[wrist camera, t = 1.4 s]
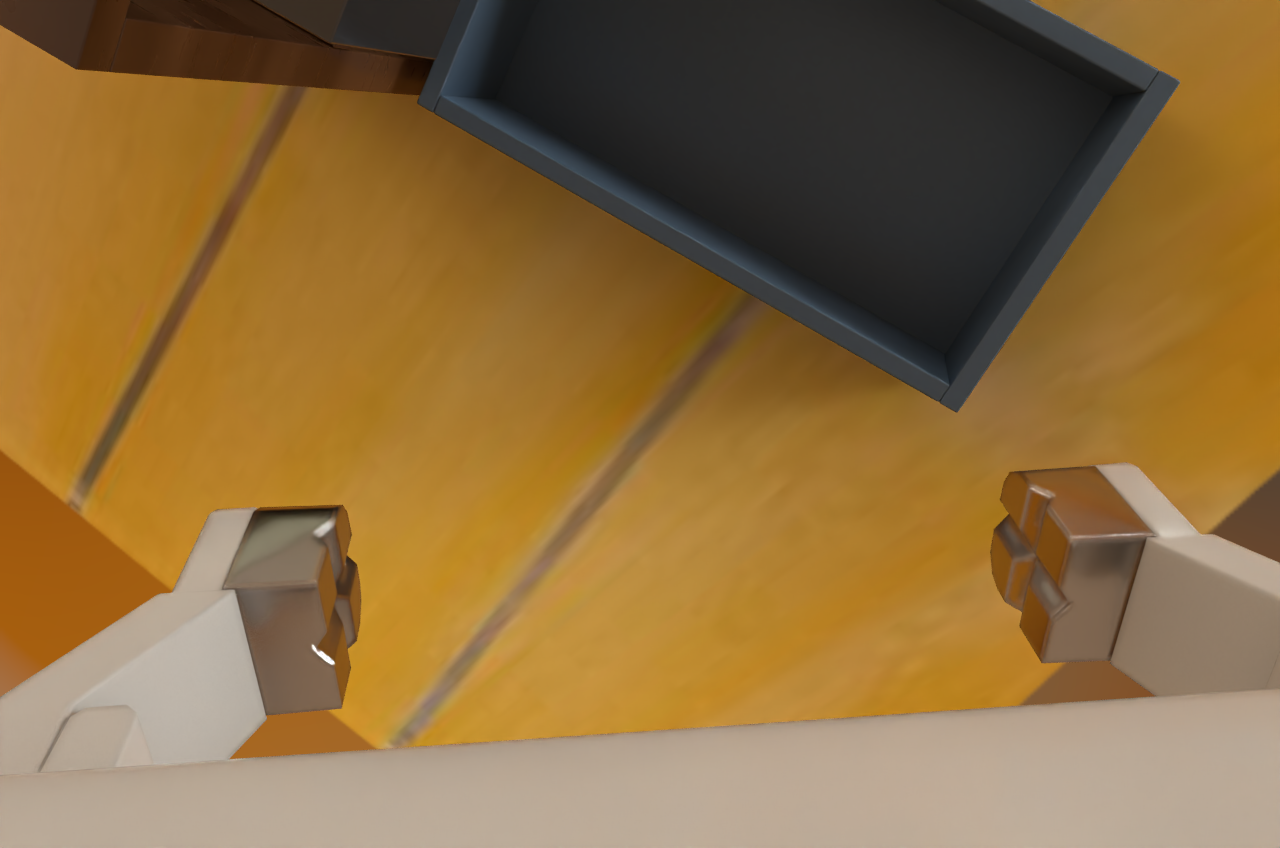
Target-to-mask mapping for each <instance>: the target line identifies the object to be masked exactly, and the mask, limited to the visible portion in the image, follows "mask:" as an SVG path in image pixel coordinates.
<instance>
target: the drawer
mask: <svg viewBox="0 0 1280 848" xmlns="http://www.w3.org/2000/svg"><path fill="white" fill-rule="evenodd" d="M255 1H256V2H258V3H260V4H262V5H263V6H265V7H267V8H268V9H270V10H272V11H274V12H275V13H277V14H279V15H281V16H282V17H284V18H286V19H288V20H289V21H291V22H293V23H295V24H296V25H298V26H300V27H302V28H303V29H305V30H307V31H309V32H310V33H312V34H314V35H316V36H317V37H319V38H321V39H323V40H324V41H326V42H328V43H331V44H338V45H344V46H351V47H357V48H364V49H370V50H377V51H383V52H390V53H396V54H403V55H409V56H416V57H422V58H429V59H436V58H437V56H438V54H439V51H440V49H441V46H442V44H443V41H444V39H445V37H446V34H447V32H448V29H449V27H450V24H451V22H452V20H453V17H454V15H455V12H456V10H457V7H458V5H459V2H460V0H255Z"/></svg>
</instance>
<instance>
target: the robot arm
mask: <svg viewBox="0 0 1280 848" xmlns="http://www.w3.org/2000/svg"><path fill="white" fill-rule="evenodd" d="M1000 501H1001V502H1002V504H1003V505H1004V507H1005V509H1006V510H1007V512H1008V513H1009V514H1008V515H1007V516H1006V517H1005V518H1004V519H1003V521H1002V522H1001V523H1000V524H999V525H998V526H997V527H996V528H995V529H994V532H993V538H992V544H991V550H990V554H991V566H992V574H993V577H994V580H995V583H996V586H997V589H998V591H999V592H1000V594H1001V596H1002V598H1003V599H1004V601H1005V602H1006V603H1008V604H1009V605H1011V606H1013V607H1014V608H1016V609H1018V610H1020V611H1021V612H1022V616H1021V620H1020V625H1019V626H1020V628H1021V630H1022V631H1023V633H1024V635H1025V636H1026V638H1027V640H1028V641H1029V643H1030V645H1031V646H1032V648H1033V649H1034V651H1035V653H1036V654H1037V656H1038V658H1039V659H1040V661H1041V663H1058V662H1083V661H1109V660H1110V661H1111V662H1110V664H1111V665H1113V666H1114V667H1116V668H1117V669H1118V670H1120V671H1121V672H1123V673H1124V674H1125V675H1127V676H1128V677H1130V678H1131V679H1132V680H1134V681H1135V682H1137V683H1138V684H1140V685H1141V686H1142V687H1144V688H1145V689H1147V690H1148V691H1149V692H1151V693H1152V694H1153V695H1155V696H1156V697H1142V698H1128V699H1112V700H1098V701H1083V702H1068V703H1054V704H1039V705H1024V706H1009V707H994V708H980V709H965V710H950V711H936V712H921V713H906V714H892V715H877V716H862V717H848V718H833V719H818V720H803V721H788V722H774V723H759V724H744V725H729V726H715V727H700V728H685V729H670V730H656V731H641V732H626V733H611V734H597V735H582V736H567V737H552V738H538V739H523V740H508V741H493V742H478V743H464V744H449V745H434V746H419V747H405V748H390V749H375V750H361V751H346V752H331V753H316V754H301V755H287V756H272V757H257V758H242V759H229V758H230V757H231V756H232V755H233V754H234V753H235V752H236V751H237V750H238V749H239V748H240V747H241V746H242V745H243V744H244V743H245V742H246V741H247V739H248V738H249V737H250V736H251V735H252V734H253V733H254V732H255V731H256V730H257V729H258V728H259V727H260V726H261V725H262V724H263V723H264V722H265V721H266V719H267V718H266V715H276V714H286V713H297V712H309V711H320V710H331V709H341V708H342V705H343V701H344V696H345V692H346V687H347V683H348V678H349V674H350V670H351V665H350V660H349V654H348V648H349V647H350V646H352V645H353V644H354V643H355V642H356V641H357V637H358V632H359V627H360V615H361V590H360V579H359V573H358V567H357V564H356V563H355V562H354V561H353V560H352V559H350V558H349V557H348V556H347V552H348V548H349V544H350V540H351V536H352V533H351V528H350V523H349V518H348V513H347V511H346V509H345V508H344V506H343V505H319V506H287V507H260V508H255V507H251V508H234V509H217V510H215V511H213V512H211V513H210V514H209V515H208V517H207V519H206V521H205V523H204V526H203V528H202V530H201V532H200V534H199V536H198V538H197V540H196V542H195V545H194V547H193V549H192V551H191V553H190V555H189V557H188V559H187V561H186V563H185V566H184V568H183V570H182V572H181V574H180V576H179V578H178V580H177V582H176V585H175V587H174V589H173V591H172V593H162V594H158V595H156V596H155V597H153V598H152V599H150V600H148V601H147V602H146V603H144V604H142V605H141V606H139V607H138V608H136V609H135V610H133V611H132V612H130V613H129V614H127V615H125V616H124V617H123V618H121V619H119V620H118V621H117V622H115V623H113V624H112V625H110V626H109V627H107V628H106V629H104V630H103V631H101V632H100V633H98V634H96V635H95V636H93V637H92V638H91V639H89V640H87V641H86V642H84V643H83V644H81V645H79V646H78V647H77V648H75V649H73V650H72V651H71V652H69V653H67V654H66V655H64V656H63V657H61V658H59V659H58V660H56V661H55V662H53V663H52V664H50V665H49V666H47V667H46V668H44V669H43V670H41V671H40V672H38V673H36V674H35V675H33V676H32V677H30V678H29V679H27V680H26V681H24V682H23V683H21V684H20V685H18V686H17V687H15V688H14V689H12V690H11V691H9V692H7V693H6V694H4V695H3V696H1V697H0V848H1280V563H1278V562H1276V561H1274V560H1271V559H1269V558H1267V557H1264V556H1262V555H1260V554H1257V553H1255V552H1253V551H1250V550H1248V549H1246V548H1243V547H1241V546H1239V545H1237V544H1234V543H1232V542H1230V541H1228V540H1225V539H1223V538H1220V537H1218V536H1216V535H1214V534H1207V535H1201V534H1200V533H1199V532H1198V531H1197V530H1196V529H1195V528H1194V527H1193V526H1192V525H1191V524H1190V523H1189V522H1188V520H1187V519H1186V518H1185V517H1184V516H1183V515H1182V514H1181V513H1180V512H1179V511H1178V510H1177V509H1176V508H1175V507H1174V505H1173V504H1172V503H1171V502H1170V501H1169V500H1168V499H1167V498H1166V497H1165V496H1164V495H1163V494H1162V493H1161V492H1160V491H1159V489H1158V488H1157V487H1156V486H1155V485H1154V484H1153V483H1152V482H1151V481H1150V480H1149V479H1148V478H1147V477H1146V476H1145V474H1144V473H1143V472H1142V471H1141V470H1140V469H1139V468H1138V467H1137V466H1135V465H1132V464H1130V463H1127V462H1125V463H1113V464H1102V465H1090V466H1085V467H1071V468H1057V469H1043V470H1028V471H1014V472H1009V474H1008V476H1007V478H1006V479H1005V481H1004V483H1003V488H1002V493H1001V497H1000Z"/></svg>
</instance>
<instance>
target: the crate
mask: <svg viewBox="0 0 1280 848" xmlns="http://www.w3.org/2000/svg"><path fill="white" fill-rule="evenodd" d="M1179 84H1180V81H1179V80H1178V79H1176V78H1174V77H1172V76H1170V75H1168V74H1166V73H1164V72H1163V71H1159V70H1158V69H1157V68H1155V67H1153V66H1151V65H1149V64H1147V63H1145V62H1144V61H1142V60H1140V59H1138V58H1136V57H1134V56H1132V55H1131V54H1129V53H1127V52H1125V51H1123V50H1121V49H1119V48H1117V47H1116V46H1114V45H1112V44H1110V43H1108V42H1106V41H1104V40H1102V39H1101V38H1099V37H1097V36H1095V35H1093V34H1091V33H1089V32H1088V31H1086V30H1084V29H1082V28H1080V27H1078V26H1076V25H1074V24H1073V23H1071V22H1069V21H1067V20H1065V19H1063V18H1061V17H1060V16H1058V15H1056V14H1054V13H1052V12H1050V11H1048V10H1046V9H1045V8H1043V7H1041V6H1039V5H1037V4H1035V3H1033V2H1031V1H1030V0H460V2H459V5H458V7H457V10H456V12H455V15H454V17H453V20H452V22H451V24H450V27H449V29H448V32H447V34H446V37H445V39H444V41H443V44H442V46H441V49H440V51H439V54H438V56H437V58H436V59H435V60H434V62H433V65H432V67H431V70H430V72H429V74H428V77H427V79H426V82H425V84H424V87H423V89H422V92H421V94H420V96H419V99H418V101H417V103H418V104H419V105H420V106H422V107H424V108H426V109H427V110H429V111H431V112H434V113H435V114H436V115H438V116H440V117H441V118H443V119H445V120H447V121H448V122H450V123H452V124H454V125H455V126H457V127H459V128H461V129H462V130H464V131H466V132H468V133H469V134H471V135H473V136H475V137H476V138H478V139H480V140H482V141H483V142H485V143H487V144H489V145H490V146H492V147H494V148H496V149H497V150H499V151H501V152H502V153H504V154H506V155H508V156H509V157H511V158H513V159H515V160H516V161H518V162H520V163H522V164H523V165H525V166H527V167H529V168H530V169H532V170H534V171H536V172H537V173H539V174H541V175H543V176H544V177H546V178H548V179H550V180H551V181H553V182H555V183H557V184H558V185H560V186H562V187H564V188H565V189H567V190H569V191H571V192H572V193H574V194H576V195H578V196H579V197H581V198H583V199H585V200H586V201H588V202H590V203H592V204H593V205H595V206H597V207H599V208H600V209H602V210H604V211H606V212H607V213H609V214H611V215H613V216H614V217H616V218H618V219H620V220H621V221H623V222H625V223H627V224H628V225H630V226H632V227H633V228H635V229H637V230H639V231H640V232H642V233H644V234H646V235H647V236H649V237H651V238H653V239H654V240H656V241H658V242H660V243H661V244H663V245H665V246H667V247H668V248H670V249H672V250H674V251H675V252H677V253H679V254H681V255H682V256H684V257H686V258H688V259H689V260H691V261H693V262H695V263H696V264H698V265H700V266H702V267H703V268H705V269H707V270H709V271H710V272H712V273H714V274H716V275H717V276H719V277H721V278H723V279H724V280H726V281H728V282H730V283H731V284H733V285H735V286H737V287H738V288H740V289H742V290H744V291H745V292H747V293H749V294H751V295H752V296H754V297H756V298H758V299H759V300H761V301H763V302H765V303H766V304H768V305H770V306H771V307H773V308H775V309H777V310H778V311H780V312H782V313H784V314H785V315H787V316H789V317H791V318H792V319H794V320H796V321H798V322H799V323H801V324H803V325H805V326H806V327H808V328H810V329H812V330H813V331H815V332H817V333H819V334H820V335H822V336H824V337H826V338H827V339H829V340H831V341H833V342H834V343H836V344H838V345H840V346H841V347H843V348H845V349H847V350H848V351H850V352H852V353H854V354H855V355H857V356H859V357H861V358H862V359H864V360H866V361H868V362H869V363H871V364H873V365H875V366H876V367H878V368H880V369H882V370H883V371H885V372H887V373H889V374H890V375H892V376H894V377H896V378H897V379H899V380H901V381H902V382H904V383H906V384H908V385H909V386H911V387H913V388H915V389H916V390H918V391H920V392H922V393H923V394H925V395H927V396H929V397H930V398H932V399H934V400H936V401H938V402H940V403H941V404H942V405H944V406H946V407H948V408H949V409H951V410H953V411H955V412H958V411H959V410H960V408H961V407H962V405H963V404H964V402H965V401H966V399H967V398H968V396H969V395H970V394H971V392H972V391H973V389H974V388H975V386H976V385H977V383H978V382H979V380H980V379H981V377H982V376H983V374H984V373H985V371H986V370H987V368H988V367H989V365H990V364H991V362H992V361H993V359H994V358H995V356H996V355H997V354H998V352H999V351H1000V349H1001V348H1002V346H1003V345H1004V343H1005V342H1006V340H1007V339H1008V337H1009V336H1010V334H1011V333H1012V331H1013V330H1014V328H1015V327H1016V325H1017V324H1018V322H1019V321H1020V319H1021V318H1022V316H1023V315H1024V314H1025V312H1026V311H1027V309H1028V308H1029V306H1030V305H1031V303H1032V302H1033V300H1034V299H1035V297H1036V296H1037V294H1038V293H1039V291H1040V290H1041V288H1042V287H1043V285H1044V284H1045V282H1046V281H1047V279H1048V278H1049V276H1050V275H1051V273H1052V272H1053V271H1054V269H1055V268H1056V266H1057V265H1058V263H1059V262H1060V260H1061V259H1062V257H1063V256H1064V254H1065V253H1066V251H1067V250H1068V248H1069V247H1070V245H1071V244H1072V242H1073V241H1074V239H1075V238H1076V236H1077V235H1078V233H1079V232H1080V231H1081V229H1082V228H1083V226H1084V225H1085V223H1086V222H1087V220H1088V219H1089V217H1090V216H1091V214H1092V213H1093V211H1094V210H1095V208H1096V207H1097V205H1098V204H1099V202H1100V201H1101V199H1102V198H1103V196H1104V195H1105V193H1106V192H1107V191H1108V189H1109V188H1110V186H1111V185H1112V183H1113V182H1114V180H1115V179H1116V177H1117V176H1118V174H1119V173H1120V171H1121V170H1122V168H1123V167H1124V165H1125V164H1126V162H1127V161H1128V159H1129V158H1130V156H1131V155H1132V153H1133V152H1134V151H1135V149H1136V148H1137V146H1138V145H1139V143H1140V142H1141V140H1142V139H1143V137H1144V136H1145V134H1146V133H1147V131H1148V130H1149V128H1150V127H1151V125H1152V124H1153V122H1154V121H1155V119H1156V118H1157V116H1158V115H1159V113H1160V112H1161V111H1162V109H1163V108H1164V106H1165V105H1166V103H1167V102H1168V100H1169V99H1170V97H1171V96H1172V94H1173V93H1174V91H1175V90H1176V88H1177V87H1178V85H1179Z"/></svg>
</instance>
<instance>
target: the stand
mask: <svg viewBox="0 0 1280 848" xmlns="http://www.w3.org/2000/svg"><path fill="white" fill-rule="evenodd" d="M0 25H1V26H3V27H5V28H6V29H8V30H10V31H12V32H13V33H15V34H17V35H18V36H20V37H22V38H23V39H25V40H27V41H29V42H30V43H32V44H34V45H35V46H37V47H39V48H41V49H42V50H44V51H46V52H47V53H49V54H51V55H52V56H54V57H56V58H58V59H59V60H61V61H63V62H64V63H66V64H68V65H69V66H71V67H73V68H75V69H78V70H91V71H104V72H115V73H129V74H142V75H155V76H168V77H182V78H195V79H208V80H221V81H235V82H248V83H261V84H274V85H288V86H301V87H314V88H327V89H341V90H354V91H367V92H381V93H394V94H407V95H420V94H421V92H422V89H423V87H424V84H425V82H426V79H427V77H428V74H429V72H430V70H431V67H432V65H433V62H434V60H435V59H429V58H422V57H416V56H409V55H403V54H396V53H390V52H383V51H377V50H370V49H364V48H357V47H351V46H344V45H338V44H331V43H328V42H326V41H324V40H323V39H321V38H319V37H317V36H316V35H314V34H312V33H310V32H309V31H307V30H305V29H303V28H302V27H300V26H298V25H296V24H295V23H293V22H291V21H289V20H288V19H286V18H284V17H282V16H281V15H279V14H277V13H275V12H274V11H272V10H270V9H268V8H267V7H265V6H263V5H262V4H260V3H258V2H256V1H255V0H0Z"/></svg>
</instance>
